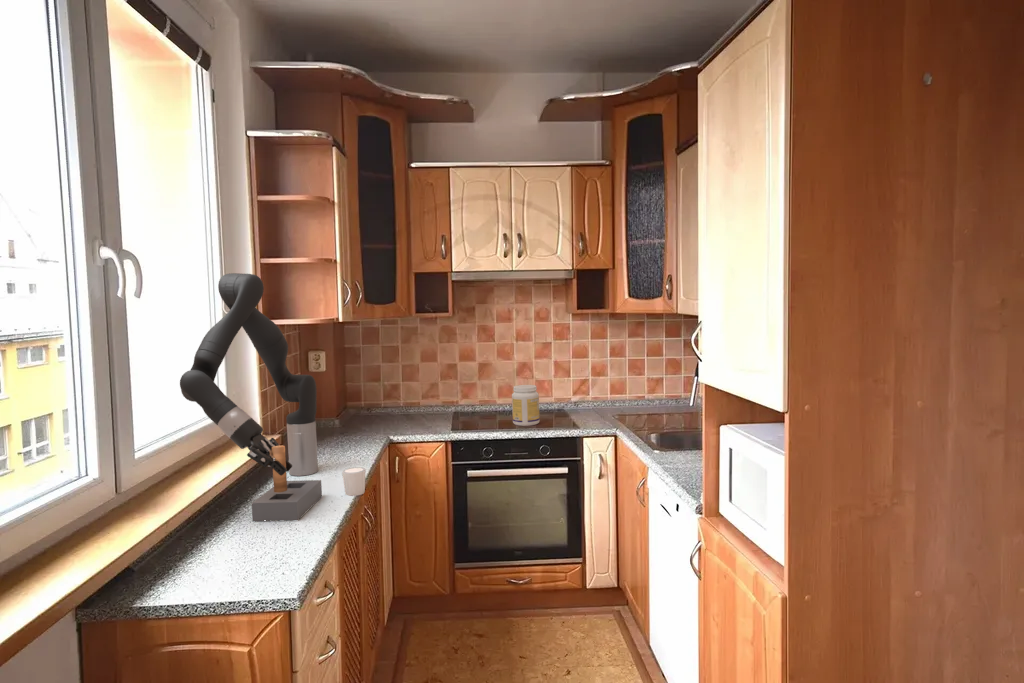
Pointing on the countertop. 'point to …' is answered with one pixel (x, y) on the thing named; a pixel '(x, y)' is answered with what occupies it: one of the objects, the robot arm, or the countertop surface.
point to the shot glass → (354, 481)
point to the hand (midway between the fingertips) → (287, 470)
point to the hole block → (287, 501)
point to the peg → (278, 480)
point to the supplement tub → (525, 405)
